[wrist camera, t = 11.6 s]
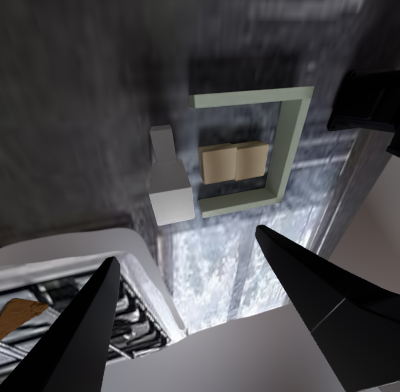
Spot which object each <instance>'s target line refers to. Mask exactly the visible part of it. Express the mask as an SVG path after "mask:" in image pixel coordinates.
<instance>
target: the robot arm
mask: <svg viewBox="0 0 400 392" xmlns="http://www.w3.org/2000/svg"><path fill="white" fill-rule="evenodd" d="M352 128H365V129H372V130H378V131H385V132H392V133H395V134H394V136H393V138H392V141H391V143H390V145H389V146H388V147H387V149H386V151H387V152H389V153H391V154H393V155H395V156H397V157H399V158H400V70H396V71H395V68H379V69H362V70H352V71H350V72H349V73H348V74H347V76H346V79H345V82H344V84H343V87H342V90H341V92H340V95H339V98H338V101H337V103H336V106H335V109H334V111H333V114H332V117H331V120H330V122H329V125H328V128H327V129H328V130H329V131H337V130H345V129H352ZM255 237H256V239H257V241H258V243H259V245H260V248H261V250H262V252H263V254H264V256H265V258H266V260H267V261H268V263H269V265H270V266H271V268H272V270H273V271H274V273H275V275H276V276H277V278H278V280H279V281H280V283H281V285H282V286H283V288H284V290H285V291H286V293H287V295H288V296H289V298H290V300H291V301H292V303H293V305H294V306H295V308H296V310H297V311H298V313H299V314H300V316H301V318H302V320H303V321H304V323H305V325H306V326H307V328H308V330H309V331H310V332H311V335H312V336H313V338H314V340H315V341H316V343H317V345H318V346H319V348H320V350H321V351H322V353H323V354H324V356H325V358H326V360H327V361H328V363H329V365H330V366H331V368H332V370H333V371H334V373H335V375H336V376H337V378H338V380H339V381H340V383H341V385H342V386H343V388H344V389H345V391H346V392H360V391H363V390H368V389H372V388H376V387H378V388H379V389H380V391H381V392H400V294H397V293H393V292H390V291H388V290H385V289H383V288H381V287H379V286H377V285H375V284H373V283H371V282H368V281H367V280H364V279H362V278H360V277H358V276H356V275H354V274H352V273H350V272H348V271H346V270H344V269H342V268H340V267H338V266H336V265H335V264H333V263H331V262H329V261H327V260H326V259H324V258H322V257H320V256H318V255H317V254H315V253H313V252H311V251H309V250H308V249H306V248H304V247H302V246H301V245H299V244H297V243H295V242H294V241H292V240H290V239H288V238H286V237H285V236H283V235H281V234H279V233H278V232H276V231H274V230H272V229H270V228H269V227H267V226H265V225H258V226H257V227H256V232H255ZM119 281H120V264H119V262H118V260H117V258H116V257H115V256H113V257H108V258H106V259H105V261H104V262H103V263H102V264H101V266H100V267H99V268H98V269H97V270H96V272H95V273H94V274H93V275H92V277H91V278H90V279H89V280H88V281H87V283H86V284H85V285H84V286H83V287H82V289H81V290H80V291H79V292H78V294H77V295H76V296H75V297H74V298H73V300H72V301H71V302H70V303H69V305H68V306H67V307H66V308H65V309H64V311H63V312H62V313H61V314H60V316H59V317H58V318H57V319H56V320H55V322H54V323H53V324H52V325H51V327H50V328H49V330H47V331H46V333H45V334H44V335H43V336H42V337H41V339H40V340H39V341H38V342H37V343H36V345H35V346H34V347H33V348H32V349H31V351H30V352H29V353H28V354H27V355H26V356H25V358H24V359H23V360H22V361H21V362H20V363H19V364H18V365H17V367H16V368H15V369H14V370H13V371H12V372H11V373H10V374H9V376H8V377H7V378H6V379H5V380H4V381H3V382H2V383H1V384H0V392H101V386H102V381H103V375H104V370H105V365H106V359H107V354H108V349H109V343H110V338H111V332H112V327H113V322H114V316H115V311H116V306H117V300H118V293H119Z"/></svg>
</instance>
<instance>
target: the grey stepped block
mask: <svg viewBox="0 0 400 392" xmlns="http://www.w3.org/2000/svg"><path fill="white" fill-rule="evenodd" d="M150 135H151V139H152V144H153V148H154V152H155V157H156V161H157V163H153V164H152V168H151V178H150V188H149V197H150V200H151V203H152V207H153V210H154V214H155V217H156V220H157V224H158V226H161V225H166V224H170V223H175V222H180V221H185V220H190V219H195V214H194V205H193V195H192V187H191V184H190V182H189V179H188V176H187V174H186V171H185V168H184V165H183V163H182V160H176V154H175V147H174V140H173V134H172V129H171V126H170V125H162V126H152V127H151V129H150Z"/></svg>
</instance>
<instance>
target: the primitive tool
mask: <svg viewBox="0 0 400 392" xmlns="http://www.w3.org/2000/svg"><path fill="white" fill-rule="evenodd" d="M48 306H49V305H48V304H46V303H42V302H37V301H31V300H25V299H19V298H14V299H11V300H10V302H9V303H8V304H7V305H6V307H5V308H4V310H3V312H2V313H1V315H0V341H1V340H2V339H3V338H4V337H5V336H7V335H8V334H10V333H11V332H12V331H13V330H15V329H16V328H18V327H19V326H21V325H22V324H24V323H25V322H27V321H29V320H30V319H31V318H34V317H35V316H39V315H40V314H42V312H43V311H45V310H46V309H47V307H48Z"/></svg>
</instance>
